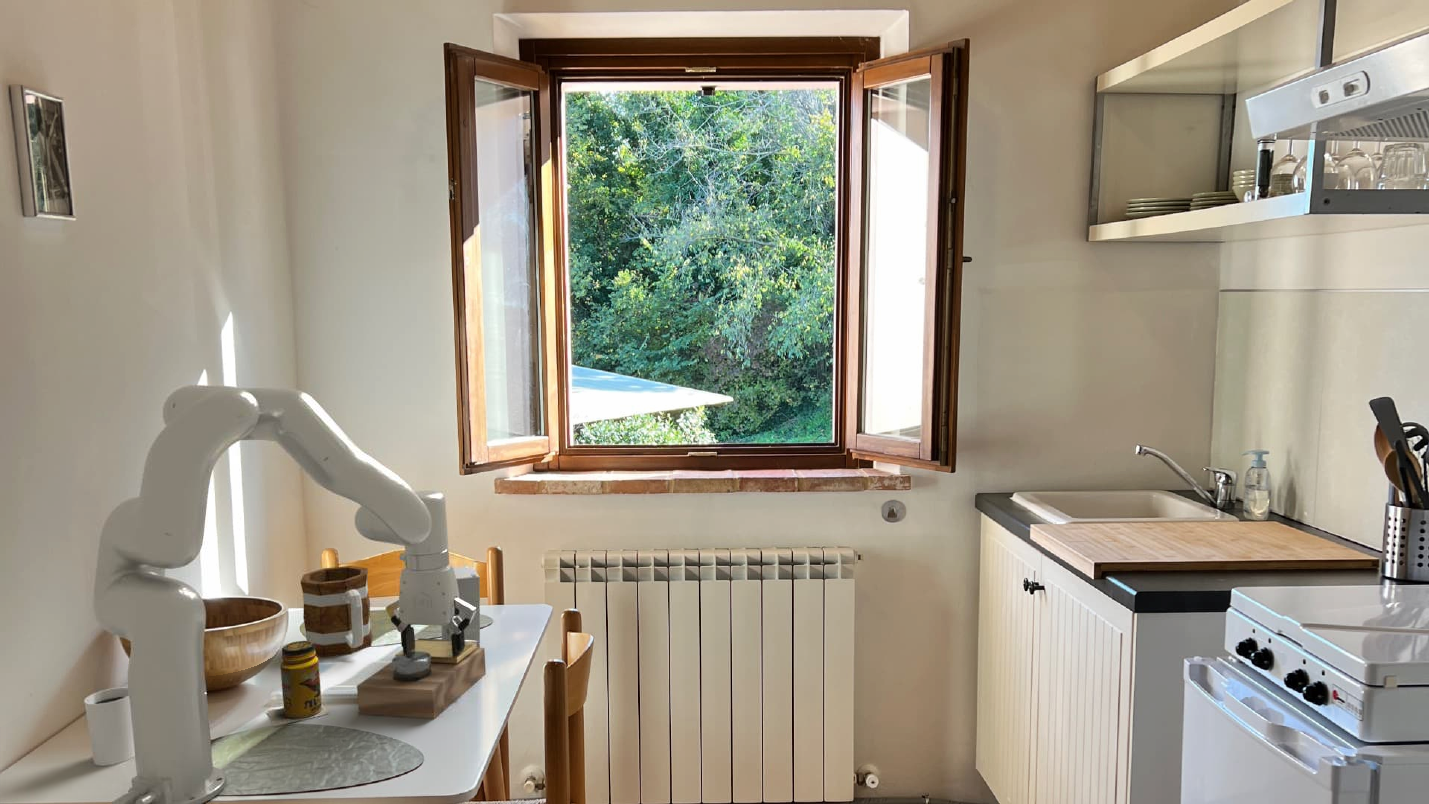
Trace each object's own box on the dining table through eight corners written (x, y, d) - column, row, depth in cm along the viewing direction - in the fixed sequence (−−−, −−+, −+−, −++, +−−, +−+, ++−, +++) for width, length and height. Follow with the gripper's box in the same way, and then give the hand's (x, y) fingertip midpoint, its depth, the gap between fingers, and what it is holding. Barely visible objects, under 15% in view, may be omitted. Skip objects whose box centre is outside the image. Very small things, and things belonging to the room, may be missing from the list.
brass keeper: (457, 663, 174) (456, 656, 174) (395, 660, 176) (395, 653, 176) (479, 646, 183) (479, 639, 183) (420, 643, 185) (420, 637, 185)
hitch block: (434, 718, 164) (432, 690, 163) (358, 714, 167) (356, 686, 166) (485, 673, 183) (484, 648, 183) (417, 670, 186) (415, 644, 186)
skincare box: (441, 644, 200) (436, 568, 199) (476, 638, 203) (472, 563, 202) (448, 657, 193) (443, 578, 191) (484, 650, 196) (480, 573, 194)
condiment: (328, 714, 167) (323, 646, 166) (274, 727, 162) (269, 657, 161) (319, 700, 173) (314, 635, 172) (267, 713, 169) (261, 645, 167)
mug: (296, 645, 203) (290, 574, 201) (361, 630, 211) (356, 562, 209) (326, 671, 187) (320, 595, 186) (395, 653, 196) (390, 580, 194)
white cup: (120, 745, 158) (114, 685, 157) (149, 750, 155) (143, 690, 154) (80, 763, 151) (73, 701, 150) (110, 769, 149) (104, 706, 148)
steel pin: (422, 710, 167) (419, 665, 166) (388, 708, 168) (384, 664, 168) (439, 695, 173) (437, 652, 173) (406, 694, 175) (404, 650, 174)
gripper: (372, 564, 174) (379, 657, 176) (462, 567, 170) (468, 661, 172) (394, 553, 181) (400, 643, 183) (481, 555, 178) (486, 646, 179)
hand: (433, 652), depth 178 cm, fingers open, 9 cm apart
